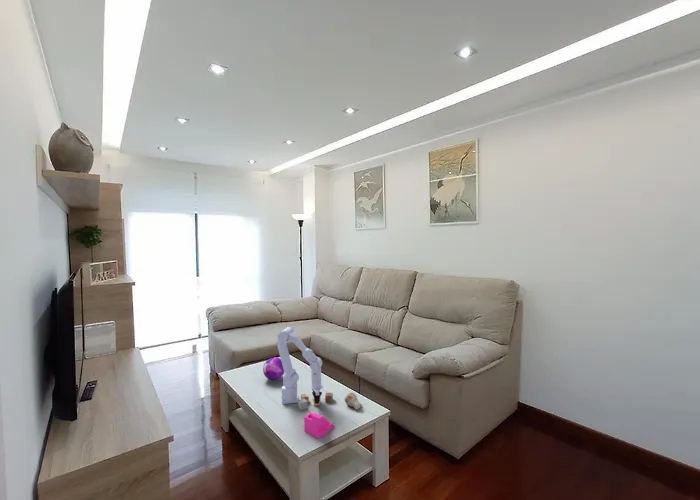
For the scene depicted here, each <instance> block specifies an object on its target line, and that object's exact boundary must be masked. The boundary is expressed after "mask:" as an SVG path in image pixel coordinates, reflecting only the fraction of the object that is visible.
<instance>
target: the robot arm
mask: <svg viewBox="0 0 700 500" xmlns="http://www.w3.org/2000/svg"><path fill="white" fill-rule="evenodd" d="M276 339H277V340H276V346H277V350H278V354H279V358H280V359H281V362H282V365H283V369H284V374H283V376H282V378H283V380H282V385H283V386H281V404H282V405H286V404H298V400H299V395H298V381H299V374H298V373H297V370H296V369H294V368H293V364H292V359H291V356H290V352H289V349H288V345H287V343H293V344H294V345H295V346H296V347H297V349H299V350H300V352H301V354H302V357H303V358H304V359H305V360H306V362H307V363H308V364H309V368H310V369H311V387H310V388H311V391H312V392H311V394H312V396H314V400H315V404H318V403H319V401H320V402H321V396H322V394H323V392H322V391H321V389H322V388H324V385H323V384H322V365H323V360H322V358H321V357H319V356H316V354H315V353H314V352H313V349H311V348H308V347H307V346H306V345H305V344H304V343H303V341H302V339H301V338H300V337H299V336H298V332H297V331H296V330H295V329H294V327H292V326H287V327H286V328H285V329H283V330H281V331H280V332H279V333H278V334H277V338H276Z"/></svg>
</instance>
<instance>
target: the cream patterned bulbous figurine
mask: <svg viewBox="0 0 700 500" xmlns="http://www.w3.org/2000/svg"><path fill="white" fill-rule="evenodd" d="M344 402H345V403H346V405H347V406H349V407H352V408H353V409H354V410H359V409H360V408H363V405H362V403H360V402H359V399H358V398H357V395H356V394H355V393H354V392H349V393H347V395H346V396H345V398H344Z"/></svg>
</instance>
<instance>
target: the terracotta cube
mask: <svg viewBox="0 0 700 500" xmlns="http://www.w3.org/2000/svg"><path fill="white" fill-rule="evenodd" d="M312 396H313V395H312ZM312 398H313V399H312V400H313V407H315V406H321V405H322V404H321V402H322V401H321V400H320V401H319V403H318V404H315V400H314V396H313V397H312Z"/></svg>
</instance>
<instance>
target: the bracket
mask: <svg viewBox="0 0 700 500" xmlns="http://www.w3.org/2000/svg"><path fill="white" fill-rule="evenodd" d="M303 424H304V425H303V427H304V429H303V431H304V432H305V433H307V434H308V435H311V436H312V437H316V438H318V439H321V438H323V437H324V436H325V435H326V434H327V433H329V432H330V431H331V430H332V429H333V428H334V427H335V423H332V422H330V421H329V420H328V418H326V417H324V416H323V415H321V414H318V413H316V412H314V413H313V412H309V413H307V414H306V415H305V416H303Z"/></svg>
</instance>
